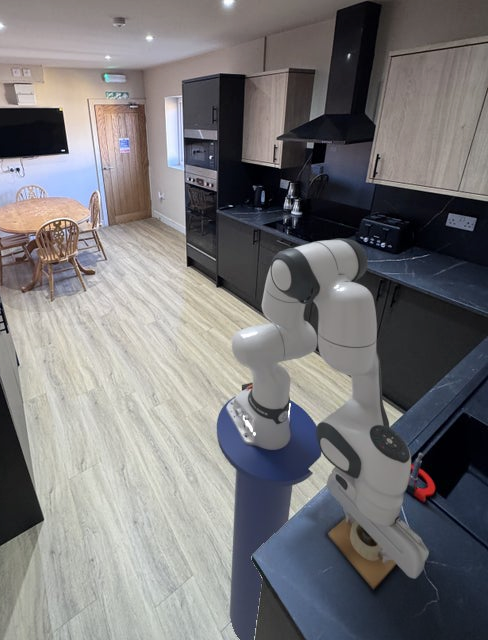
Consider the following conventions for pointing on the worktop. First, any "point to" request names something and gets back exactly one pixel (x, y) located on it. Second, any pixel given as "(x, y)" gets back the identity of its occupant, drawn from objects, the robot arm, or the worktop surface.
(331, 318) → the robot arm
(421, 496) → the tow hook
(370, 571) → the peg stand
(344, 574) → the worktop surface
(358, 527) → the tape roll
